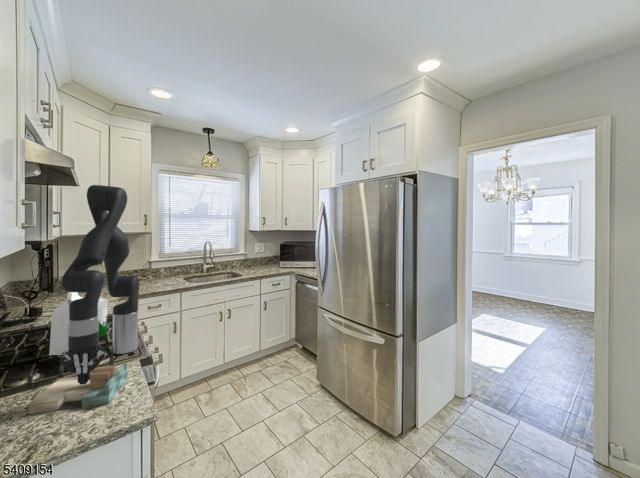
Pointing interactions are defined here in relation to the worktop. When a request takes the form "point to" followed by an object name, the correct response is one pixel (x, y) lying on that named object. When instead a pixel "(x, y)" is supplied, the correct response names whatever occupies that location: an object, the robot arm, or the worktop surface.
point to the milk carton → (102, 316)
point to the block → (101, 377)
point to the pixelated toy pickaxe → (77, 394)
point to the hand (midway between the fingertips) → (83, 383)
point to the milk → (61, 326)
